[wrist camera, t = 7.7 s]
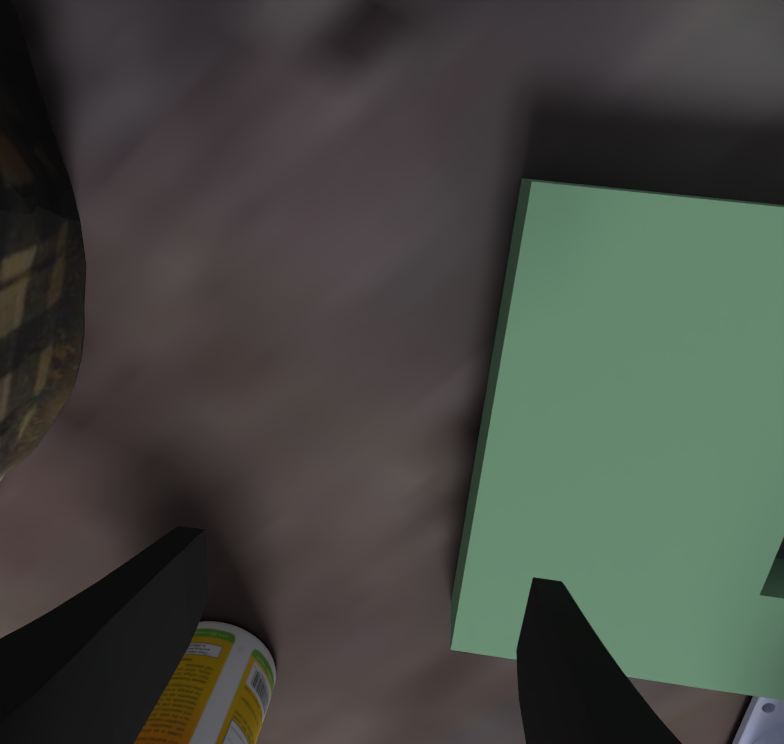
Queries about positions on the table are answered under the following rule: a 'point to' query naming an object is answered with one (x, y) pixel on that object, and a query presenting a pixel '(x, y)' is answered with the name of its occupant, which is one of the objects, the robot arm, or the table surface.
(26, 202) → the decorative pumpkin
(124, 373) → the table surface
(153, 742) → the supplement bottle
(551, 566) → the putting board
